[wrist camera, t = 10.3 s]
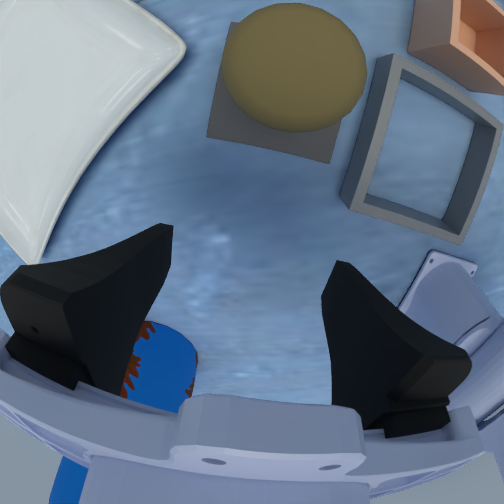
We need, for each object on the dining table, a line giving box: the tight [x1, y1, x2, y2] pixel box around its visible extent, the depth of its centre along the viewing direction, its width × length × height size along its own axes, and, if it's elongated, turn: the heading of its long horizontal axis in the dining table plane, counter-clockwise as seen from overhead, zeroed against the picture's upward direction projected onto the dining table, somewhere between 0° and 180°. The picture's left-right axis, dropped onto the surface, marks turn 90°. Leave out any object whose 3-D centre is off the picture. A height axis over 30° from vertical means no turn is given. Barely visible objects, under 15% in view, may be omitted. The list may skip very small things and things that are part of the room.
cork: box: [221, 3, 367, 133], centre depth 11 cm, size 6×6×11 cm
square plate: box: [0, 0, 187, 265], centre depth 15 cm, size 27×27×4 cm
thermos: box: [49, 321, 198, 504], centre depth 21 cm, size 11×11×25 cm
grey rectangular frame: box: [339, 53, 504, 246], centre depth 17 cm, size 12×12×3 cm
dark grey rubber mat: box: [206, 22, 342, 164], centre depth 17 cm, size 9×9×1 cm
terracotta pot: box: [407, 0, 504, 96], centre depth 10 cm, size 7×7×6 cm
